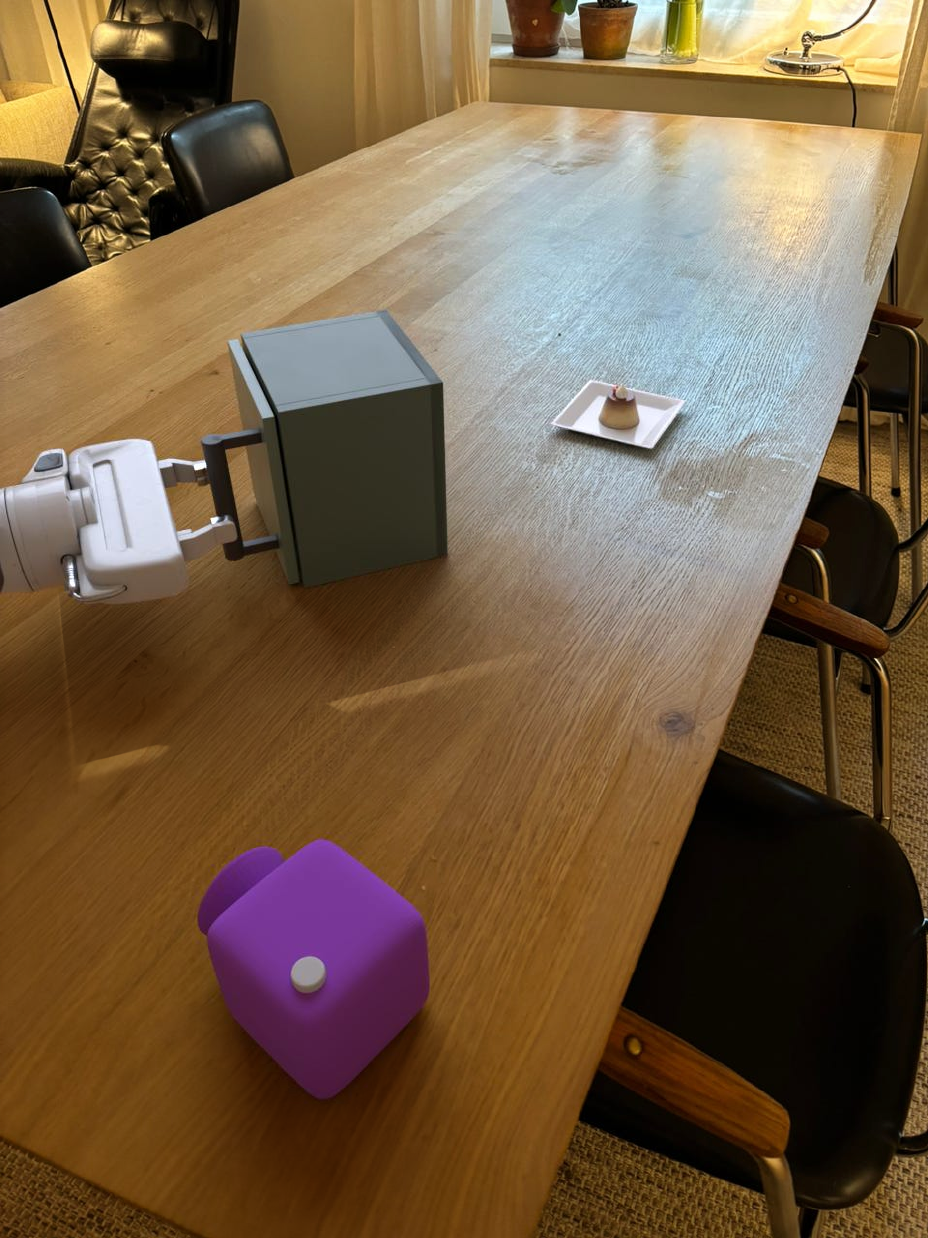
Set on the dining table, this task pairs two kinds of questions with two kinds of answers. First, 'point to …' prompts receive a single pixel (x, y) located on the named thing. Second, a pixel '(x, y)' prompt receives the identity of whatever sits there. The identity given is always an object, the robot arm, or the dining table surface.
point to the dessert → (619, 414)
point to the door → (252, 470)
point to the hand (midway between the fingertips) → (224, 497)
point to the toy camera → (315, 959)
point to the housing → (355, 443)
